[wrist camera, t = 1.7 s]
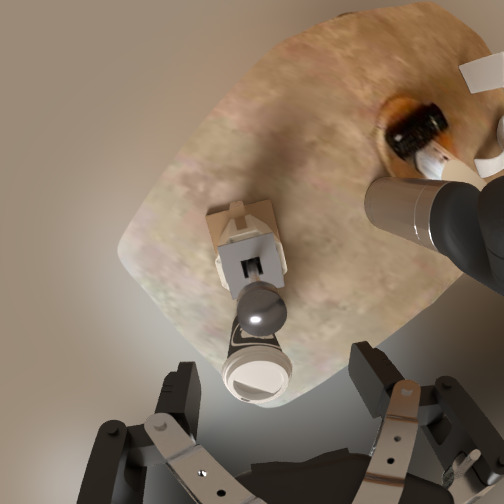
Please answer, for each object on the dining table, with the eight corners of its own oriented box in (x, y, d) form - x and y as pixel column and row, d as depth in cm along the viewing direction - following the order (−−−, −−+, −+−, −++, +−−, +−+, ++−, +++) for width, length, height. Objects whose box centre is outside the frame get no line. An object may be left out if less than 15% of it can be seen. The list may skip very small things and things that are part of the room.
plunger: (265, 234, 31) (289, 275, 18) (275, 273, 32) (302, 334, 19) (224, 244, 31) (218, 293, 18) (235, 283, 32) (237, 351, 19)
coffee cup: (212, 323, 46) (205, 380, 31) (255, 291, 45) (265, 341, 30) (247, 356, 48) (252, 415, 34) (288, 328, 47) (308, 383, 33)
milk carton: (470, 63, 35) (523, 48, 16) (482, 89, 36) (537, 80, 18) (457, 66, 35) (514, 48, 17) (470, 94, 37) (529, 83, 19)
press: (267, 191, 41) (285, 197, 27) (283, 259, 44) (306, 297, 30) (203, 208, 41) (188, 222, 27) (223, 275, 44) (219, 319, 30)
